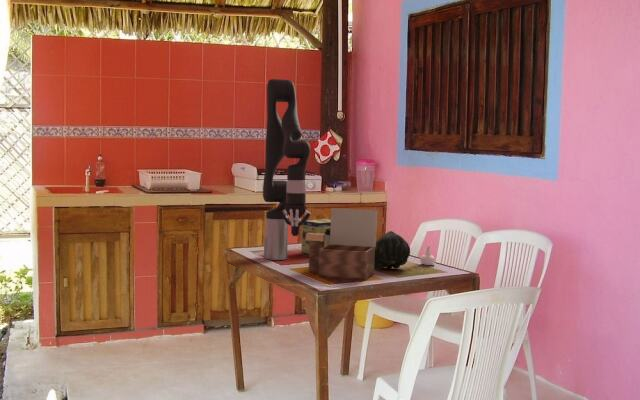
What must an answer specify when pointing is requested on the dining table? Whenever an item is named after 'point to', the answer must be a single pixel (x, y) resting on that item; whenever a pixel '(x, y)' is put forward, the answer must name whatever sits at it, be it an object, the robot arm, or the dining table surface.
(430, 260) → the garlic bulb
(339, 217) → the lid
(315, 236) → the latch bolt
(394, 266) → the squash
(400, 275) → the dining table surface
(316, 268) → the box
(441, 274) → the dining table surface
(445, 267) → the dining table surface
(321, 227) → the protein box
